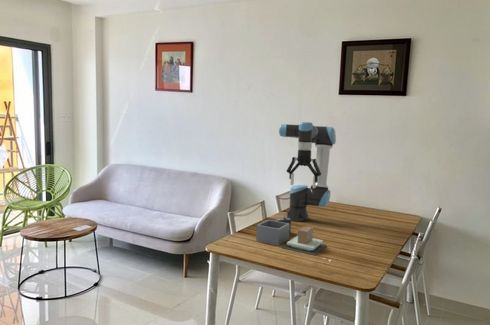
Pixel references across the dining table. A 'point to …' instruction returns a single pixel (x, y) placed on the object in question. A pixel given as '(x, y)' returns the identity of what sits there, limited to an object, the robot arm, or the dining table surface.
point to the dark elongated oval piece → (285, 221)
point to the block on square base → (305, 240)
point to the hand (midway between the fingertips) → (302, 186)
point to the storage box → (272, 232)
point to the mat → (306, 250)
